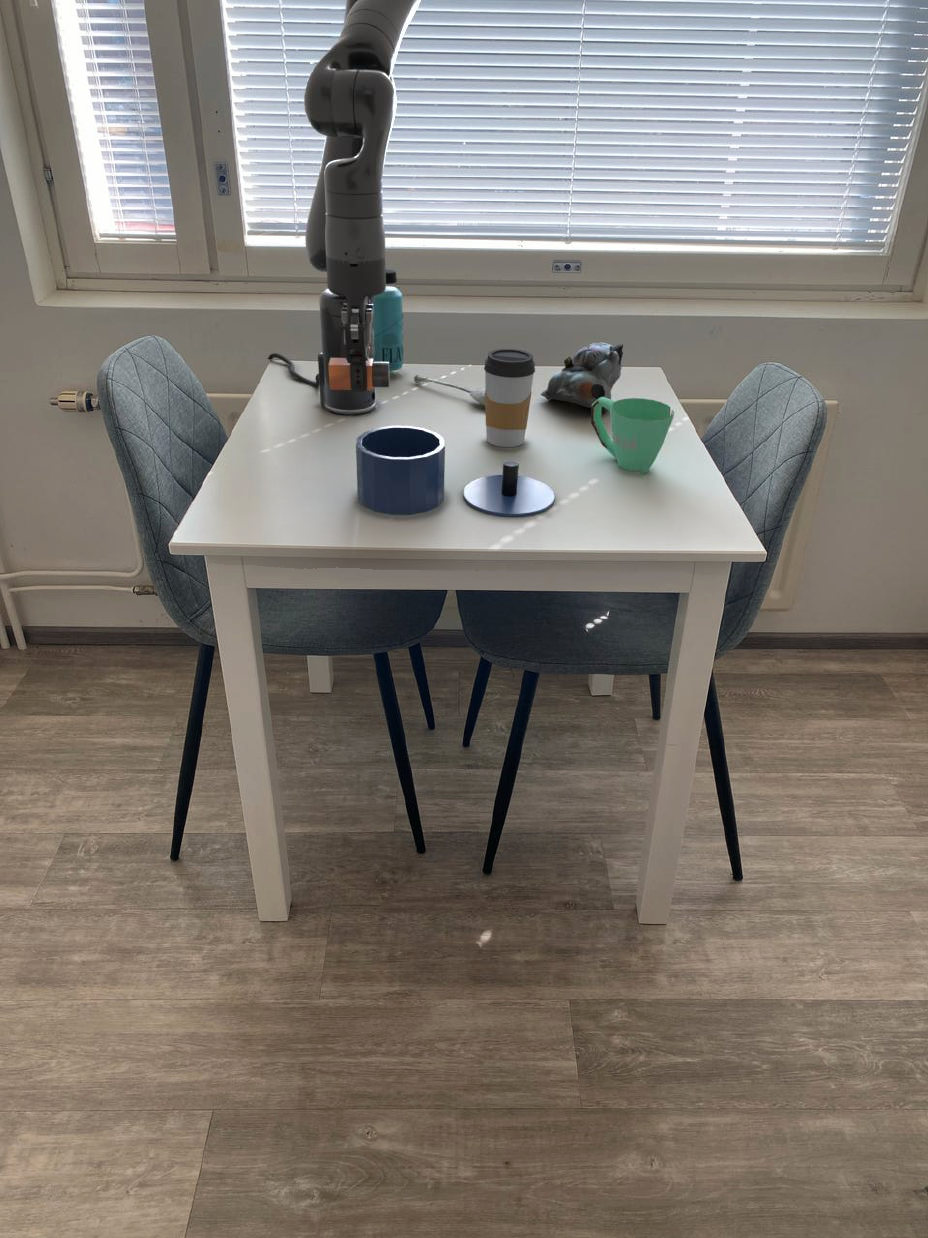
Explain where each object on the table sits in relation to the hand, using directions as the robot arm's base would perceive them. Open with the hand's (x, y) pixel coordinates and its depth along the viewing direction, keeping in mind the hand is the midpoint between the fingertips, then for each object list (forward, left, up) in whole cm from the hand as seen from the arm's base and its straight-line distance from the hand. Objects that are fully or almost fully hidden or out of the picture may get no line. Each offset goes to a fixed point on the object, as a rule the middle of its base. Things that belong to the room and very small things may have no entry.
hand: (360, 385), depth 123 cm
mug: (+28, +34, -17) cm, 47 cm away
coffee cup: (+8, +31, -17) cm, 36 cm away
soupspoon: (-11, +48, -17) cm, 52 cm away
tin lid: (+18, +11, -17) cm, 27 cm away
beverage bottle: (-29, +51, -17) cm, 61 cm away
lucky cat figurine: (+11, +56, -17) cm, 60 cm away
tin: (+5, +3, -17) cm, 18 cm away
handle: (0, 0, 0) cm, 0 cm away
